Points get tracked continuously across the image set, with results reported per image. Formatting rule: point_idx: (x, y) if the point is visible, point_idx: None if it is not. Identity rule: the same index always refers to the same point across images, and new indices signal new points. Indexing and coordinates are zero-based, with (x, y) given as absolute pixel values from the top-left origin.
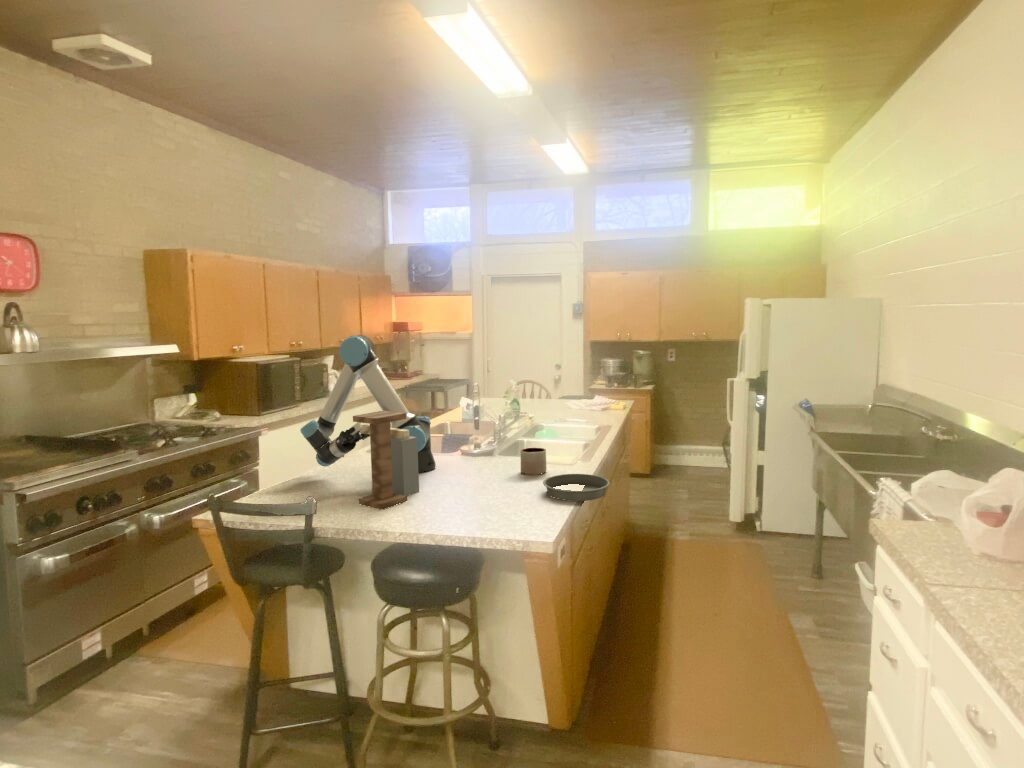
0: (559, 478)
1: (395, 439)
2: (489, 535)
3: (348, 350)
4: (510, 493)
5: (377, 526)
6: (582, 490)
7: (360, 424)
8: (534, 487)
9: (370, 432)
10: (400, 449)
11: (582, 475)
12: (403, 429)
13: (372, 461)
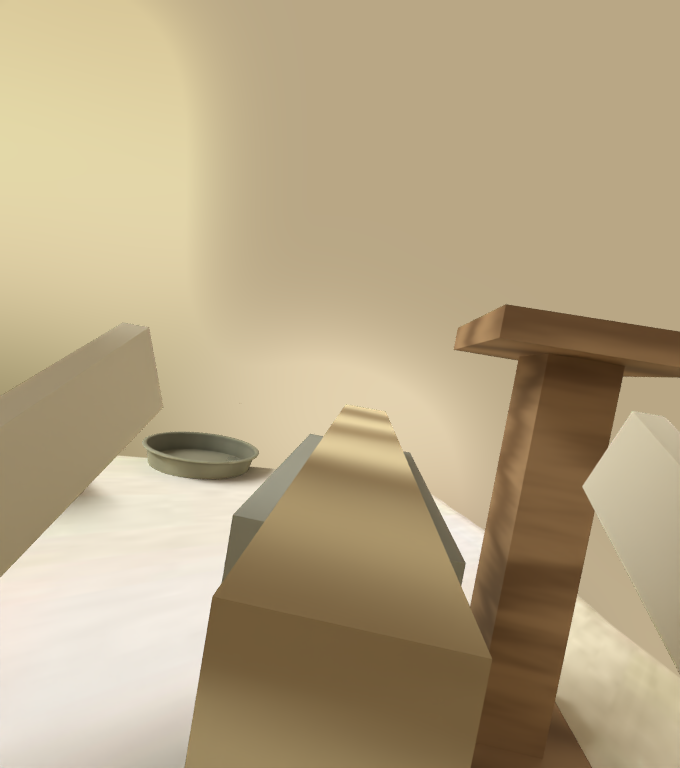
0: (157, 455)
1: (409, 463)
2: (444, 509)
3: None
4: (223, 507)
5: (604, 635)
6: (252, 446)
7: (620, 450)
8: (166, 488)
9: (610, 427)
10: None
11: (149, 440)
12: (350, 408)
13: (576, 571)
